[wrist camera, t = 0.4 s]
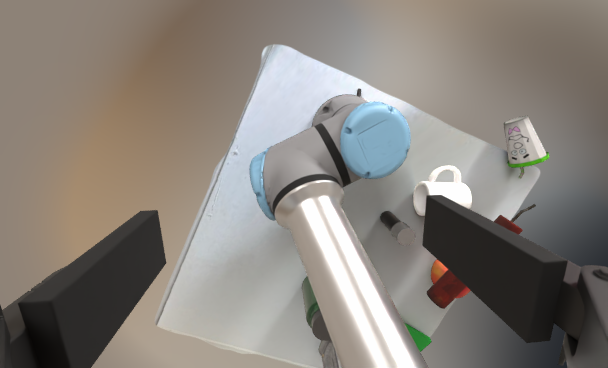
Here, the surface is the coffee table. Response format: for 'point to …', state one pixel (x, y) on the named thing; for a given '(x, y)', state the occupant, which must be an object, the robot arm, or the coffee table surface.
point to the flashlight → (398, 229)
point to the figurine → (329, 355)
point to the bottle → (314, 312)
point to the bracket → (419, 338)
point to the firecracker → (450, 284)
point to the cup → (523, 144)
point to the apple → (439, 270)
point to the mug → (441, 190)
